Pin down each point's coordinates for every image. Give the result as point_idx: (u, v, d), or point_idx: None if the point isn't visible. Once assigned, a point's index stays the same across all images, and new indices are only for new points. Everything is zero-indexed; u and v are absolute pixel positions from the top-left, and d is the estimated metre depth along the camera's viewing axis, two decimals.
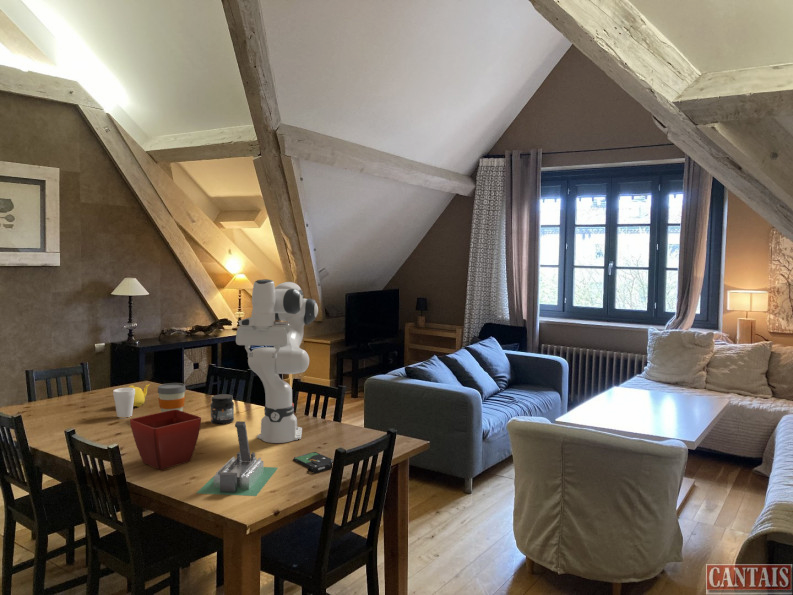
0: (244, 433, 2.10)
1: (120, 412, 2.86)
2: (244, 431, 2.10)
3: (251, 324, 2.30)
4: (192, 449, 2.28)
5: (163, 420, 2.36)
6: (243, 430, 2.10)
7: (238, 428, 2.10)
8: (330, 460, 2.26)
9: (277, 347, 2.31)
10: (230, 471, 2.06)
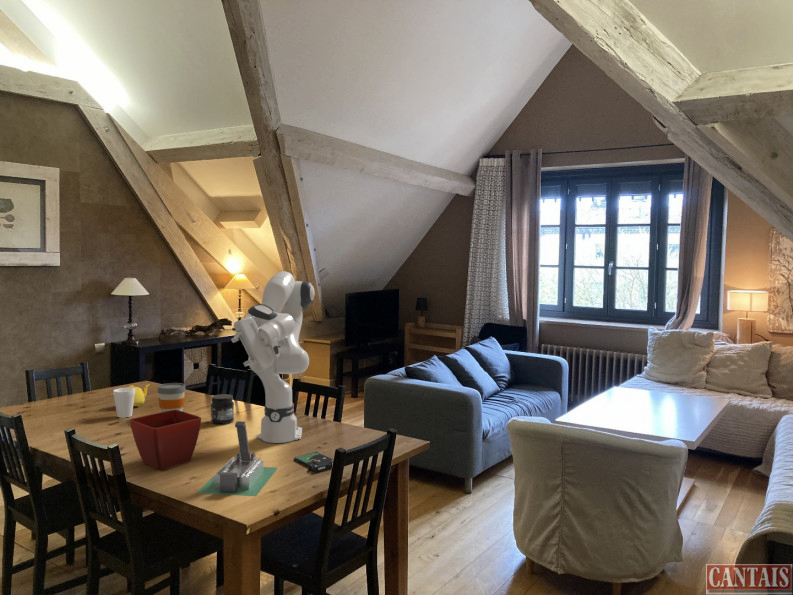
0: (244, 433, 2.10)
1: (120, 412, 2.86)
2: (244, 431, 2.10)
3: None
4: (192, 449, 2.28)
5: (163, 420, 2.36)
6: (243, 430, 2.10)
7: (238, 428, 2.10)
8: (331, 460, 2.26)
9: None
10: (230, 471, 2.06)
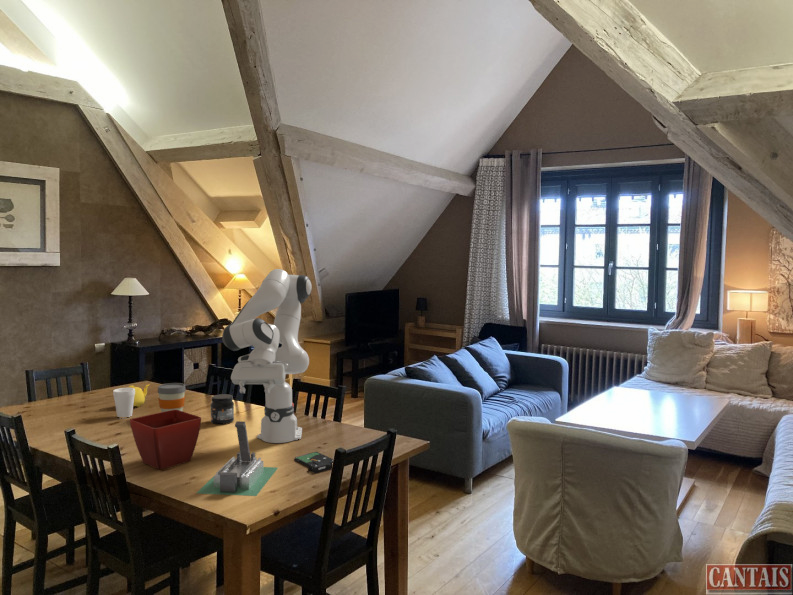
0: (244, 433, 2.10)
1: (120, 412, 2.86)
2: (244, 431, 2.10)
3: (250, 358, 2.29)
4: (192, 449, 2.28)
5: (163, 420, 2.36)
6: (243, 430, 2.10)
7: (238, 428, 2.10)
8: (331, 460, 2.26)
9: (271, 381, 2.24)
10: (230, 471, 2.06)
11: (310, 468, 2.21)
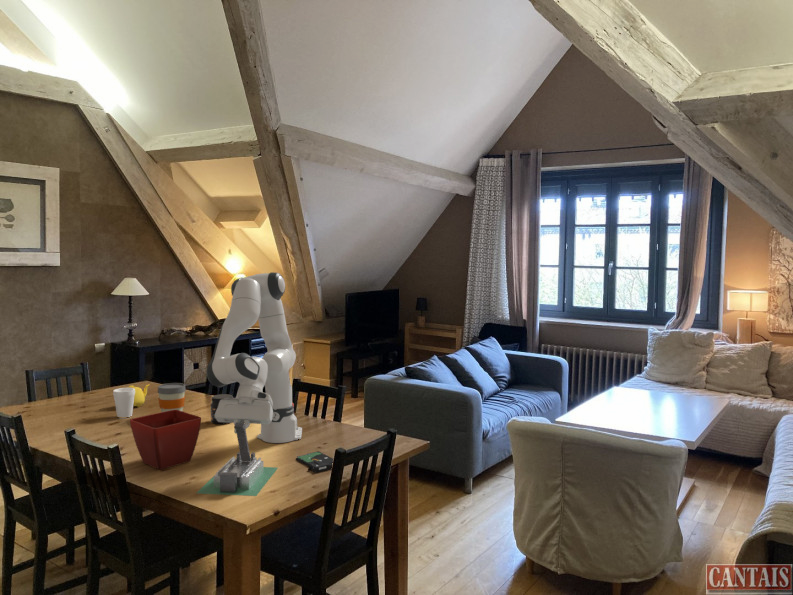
0: (243, 434, 2.10)
1: (120, 412, 2.86)
2: (243, 432, 2.09)
3: None
4: (192, 449, 2.28)
5: (163, 420, 2.36)
6: (242, 431, 2.09)
7: (237, 429, 2.09)
8: (332, 460, 2.26)
9: None
10: (230, 471, 2.06)
11: (311, 468, 2.21)
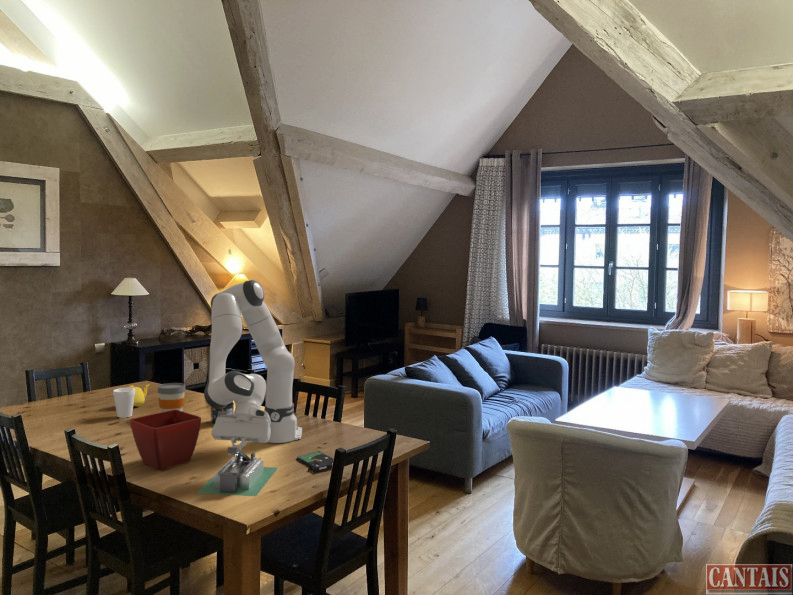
0: (238, 453, 2.05)
1: (120, 412, 2.86)
2: (238, 452, 2.04)
3: None
4: (192, 449, 2.28)
5: (163, 420, 2.36)
6: (237, 452, 2.04)
7: None
8: (332, 460, 2.26)
9: None
10: (230, 471, 2.06)
11: (311, 468, 2.21)
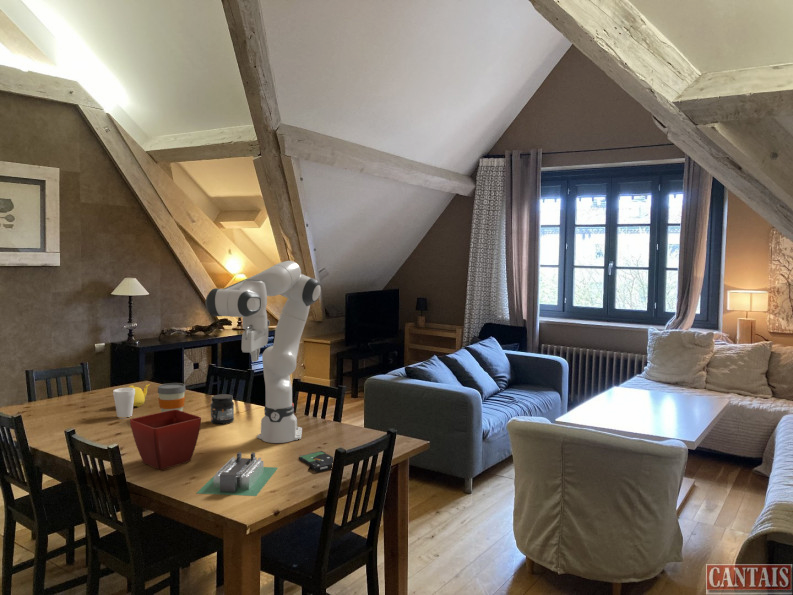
0: None
1: (120, 412, 2.86)
2: None
3: None
4: (192, 449, 2.28)
5: (163, 420, 2.36)
6: None
7: None
8: None
9: None
10: None
11: (312, 467, 2.22)
